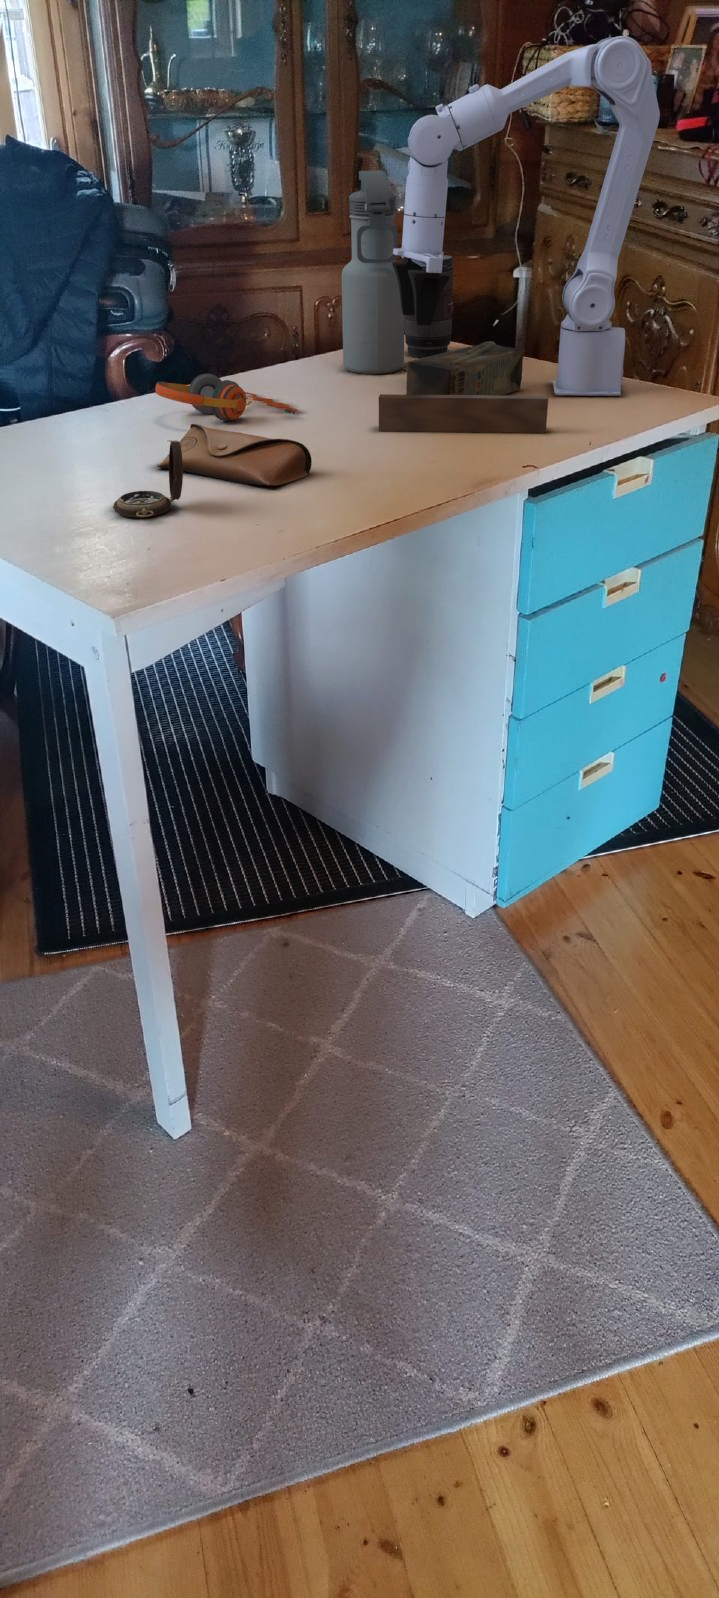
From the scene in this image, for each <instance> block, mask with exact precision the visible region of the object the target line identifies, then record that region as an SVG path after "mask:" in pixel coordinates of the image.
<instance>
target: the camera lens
mask: <svg viewBox="0 0 719 1598" xmlns="http://www.w3.org/2000/svg"><path fill="white" fill-rule="evenodd" d="M442 273H448V274H449V275H450V278H449V281H448V282H447V284H446V286H445V287H444V289H443V291H442V293H441V296H440V298H439V301H438V304H437V307H436V311H435V314H434V318H433V321H432V324H431V325H417V324H416V321H415V315H404V344H406V346H407V354H408V356H411V357H414V358H424V357H429V356H433V355H437V354H441V353H445V352H448V349H449V345H450V344H451V340H452V339H451V338H452V332H453V318H452V313H453V312H454V301H453V292H454V291H453V289H454V265H453V257H452V256H451V255H447V254H446V255H445V254H443V263H442Z"/></svg>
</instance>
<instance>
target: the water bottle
mask: <svg viewBox="0 0 719 1598" xmlns="http://www.w3.org/2000/svg"><path fill="white" fill-rule="evenodd" d="M358 181H361V182H360V190H358V191H355V192H353V193H351V194H350V195H349V196H348V204H349V205H348V206H349V208H348V209H349V211H348V212H349V218H350V229H351V230H350V231H351V237H350V238H351V260H350V261H349V262H348V263H347V264H346V265H344V267H343V268H342V272H341V312H342V313H341V317H342V318H341V319H342V322H341V323H342V363H343V367H344V368H345V369H346V370H347V371H349V372H351V373H355V374H362V375H383V374H384V375H385V374H390V373H394V372H398V371H399V370H401V369H402V368H403V367H404V365H405V332H404V321H405V315H403V313H402V308H401V300H400V291H399V285H398V280H397V277H396V273H395V271H394V268H393V265H392V262H394V261H396V259H397V258H398V255H395V254H393V249H394V248H399V240H398V239H399V234H398V232H399V231H398V229H397V227H396V226H395V218H396V217H397V215H396V213H395V212H396V211H397V209H396V206H397V205H396V202H397V201H396V200H397V196H396V194H395V193H393V192H392V191H390V190H389V180H388V177H387V172H385V171H383V170H375V169H374V170H371V169H370V170H359V171H358Z"/></svg>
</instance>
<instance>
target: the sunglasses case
mask: <svg viewBox="0 0 719 1598" xmlns="http://www.w3.org/2000/svg"><path fill="white" fill-rule="evenodd" d="M189 427H190V429H189V430H188V431H186V433H185V434H184V436H183V437H181V439H180V440H179V441H178V442H179V443H180V445H181V451H182V460H183V472H186V473H191V474H196V475H202V476H206V477H210V478H215V479H220V480H224V481H228V482H231V483H232V482H233V483H239V484H245V485H258V486H259V485H260V486H267V487H270V486H271V487H277V486H283V485H287V484H291V483H293V482H296V481H298V480H301V479H304V478H305V477H308V475H309V474H310V472H311V469H312V462H313V461H312V455H311V452H310V450H309V449H308V447H307V446H306V445H304V444H303V443H301V442H299V441H296V440H293V439H288V438H271V437H270V438H269V437H266V436H259V435H254V434H249V433H245V432H244V433H243V432H239V431H230V430H224V429H218V428H217V429H216V428H210V427H207V426H203V425H201V424H198V423H191V424H190V426H189ZM156 467H157V468H160V469H161V468H163V469H169V453H168V454H167V456H165V458H164V459H163V461H162V462H160V463H157V464H156Z"/></svg>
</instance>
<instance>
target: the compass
mask: <svg viewBox="0 0 719 1598" xmlns="http://www.w3.org/2000/svg"><path fill="white" fill-rule="evenodd" d="M166 442H170V443H169V452H168V454H169V468H168V483H169V485H168V486H169V494H170V495H169V496H170V497H168V496H166V495H164V494H163V493H161V492H159V491H155V490H137V491H136V490H135V491H131V492H130V491H129V492H125V493H124V494H122V495H120V496H119V497H118V499H117V500H116V501H114V503H113V505H112V509H113V510H114V511H115V513H116V514H118V515H119V516H123V517H126V518H127V517H128V518H150V517H156V516H159V515H162V514H165V513H167V512H168V511H169V510H170V509H171V507H172V503H173V502H174V501H175V500H180V498H181V496H182V489H183V481H184V480H183V479H184V471H183V460H182V451H181V445H180V443H179V442H180V441H179V440H176V439H175V440H167V441H166Z"/></svg>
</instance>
